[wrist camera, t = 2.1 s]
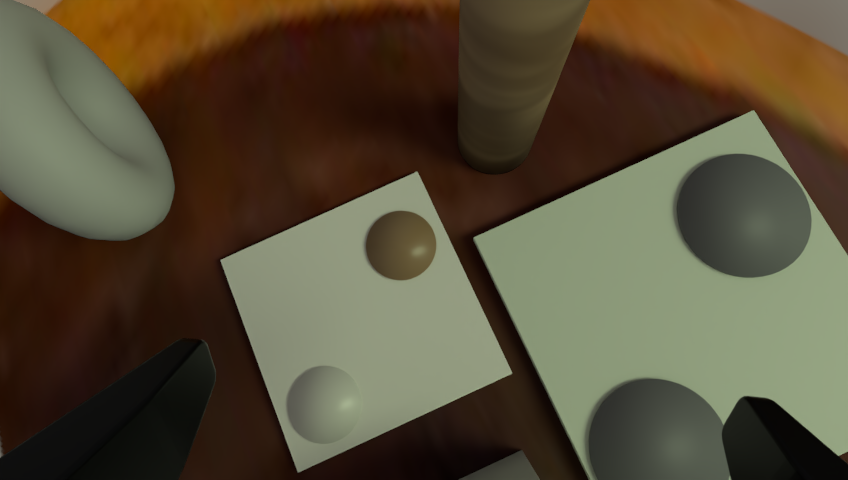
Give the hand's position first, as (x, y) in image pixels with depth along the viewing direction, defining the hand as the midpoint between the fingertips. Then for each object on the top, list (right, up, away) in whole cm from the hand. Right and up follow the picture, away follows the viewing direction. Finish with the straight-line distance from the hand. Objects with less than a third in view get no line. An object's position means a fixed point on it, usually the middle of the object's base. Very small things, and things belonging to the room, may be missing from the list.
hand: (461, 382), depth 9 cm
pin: (+3, +7, +15) cm, 17 cm away
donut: (-14, +6, +16) cm, 22 cm away
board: (+11, -1, +13) cm, 17 cm away
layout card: (-3, -1, +14) cm, 14 cm away
